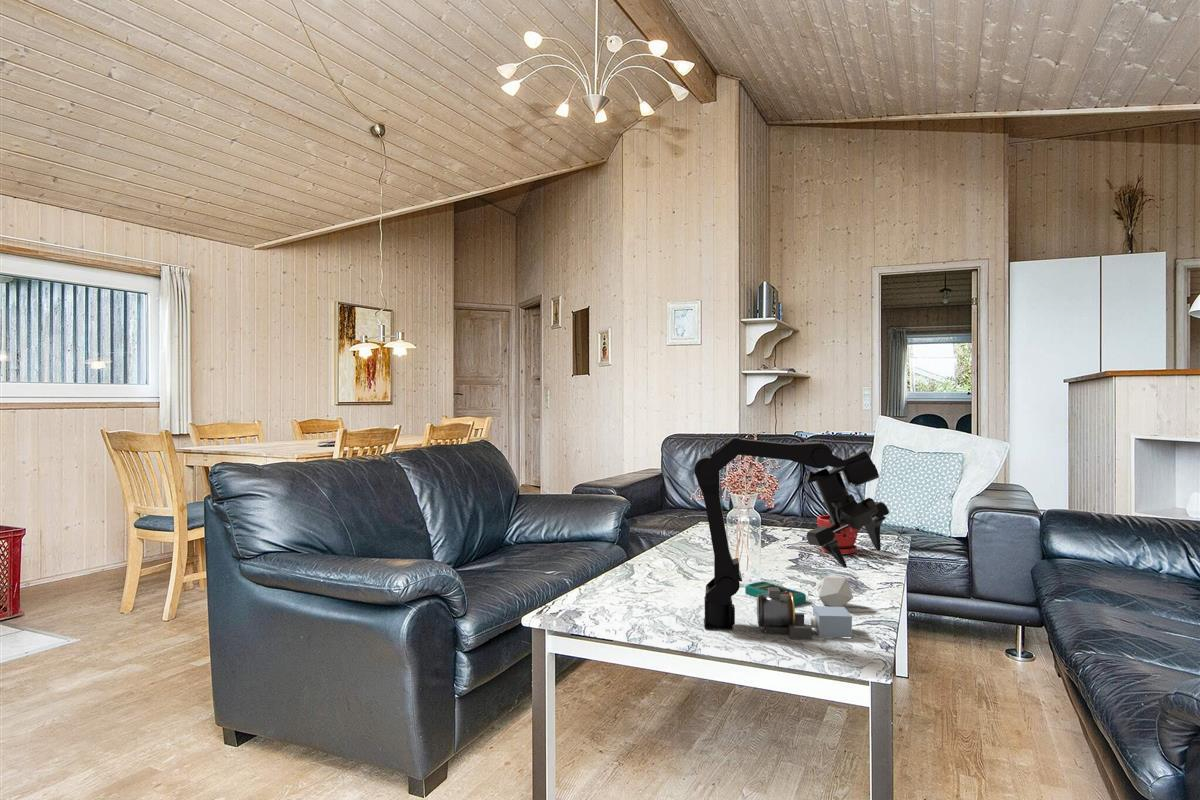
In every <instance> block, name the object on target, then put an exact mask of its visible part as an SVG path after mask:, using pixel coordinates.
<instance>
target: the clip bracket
mask: <svg viewBox="0 0 1200 800" xmlns="http://www.w3.org/2000/svg"><path fill="white" fill-rule="evenodd" d="M788 628H789V635H788V637H789V639H790V640H803V641H804V640H805V641H809V640H810V641H812V640H813V628H812V627H811V626H805V613H804V612H795V625H789V627H788Z"/></svg>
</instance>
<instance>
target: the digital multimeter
mask: <svg viewBox="0 0 1200 800" xmlns="http://www.w3.org/2000/svg"><path fill="white" fill-rule="evenodd" d="M768 587H775V588H779V590H780V594H789V593H792V595H793V599H794V607H797V606H800V605H802V604H805V603H806V602H807V595H806V594H805V592H802V591H798V590H796V589H795V590H793V589H792V588H791V589H790V588H787V587H784V586H781V585H778V584H774V583H771V582H768V581H765V580H763V581H758V582H757V581H756V582H753V583H750V584H749V583H748V584H747V585H745V594H746V595H747V596H748V595H749V596H751V597H756V598H757V595H758V594H768Z"/></svg>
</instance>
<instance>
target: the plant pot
mask: <svg viewBox="0 0 1200 800" xmlns="http://www.w3.org/2000/svg"><path fill="white" fill-rule="evenodd" d="M830 518H831V517H830V515H829V514H826V515H825V514H824V515H819V516H817V518H816V519H817V521H816V522H817V527H819V526H822V527H829V526H832V525H834V524H833V523H830V521H829V519H830ZM843 525H844V524H843ZM843 525H840V526H843ZM858 530H859V529H853V528H852V527H851V526H850V527H848V528H846V529H844V530H841V531H839V532H837V533H835V534H834V535H835V536H834V540H838V547H839V549H840V551H841V553H842V555H851V554H854V553H855V552H856V551H857V549H858V547H857V546H856V545H855V543H856V542H857V538H858V532H859V531H858ZM820 548H821V550H822V551H823V552H825V553H827V554H830V553H829V552H828V551H827V550H825V549H824V548H823V547H822V546H820Z"/></svg>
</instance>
